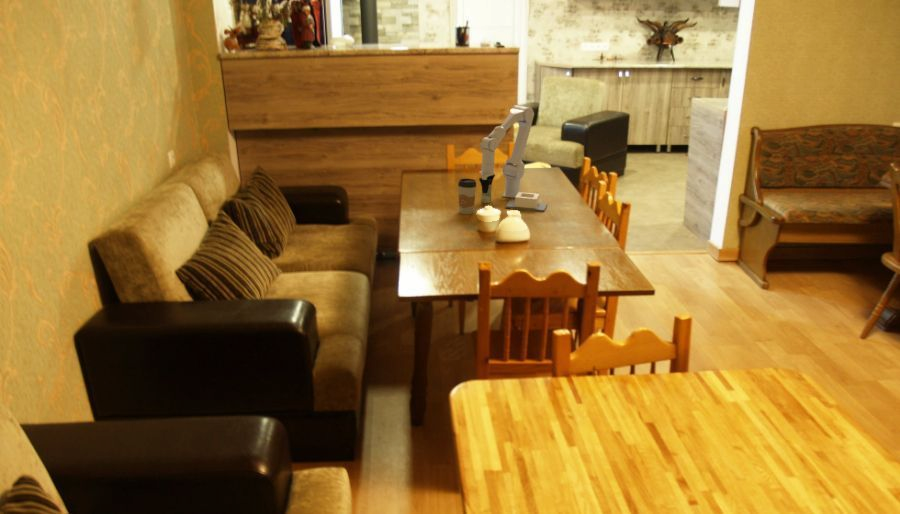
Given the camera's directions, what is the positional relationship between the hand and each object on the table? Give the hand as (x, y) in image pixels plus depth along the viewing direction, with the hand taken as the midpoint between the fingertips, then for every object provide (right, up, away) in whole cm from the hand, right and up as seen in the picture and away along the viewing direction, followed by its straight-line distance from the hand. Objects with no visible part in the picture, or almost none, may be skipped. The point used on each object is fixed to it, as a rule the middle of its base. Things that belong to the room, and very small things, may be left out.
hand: (486, 191), depth 331 cm
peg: (0, -5, +2) cm, 5 cm away
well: (+19, -8, -4) cm, 21 cm away
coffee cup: (-10, -12, -16) cm, 22 cm away
